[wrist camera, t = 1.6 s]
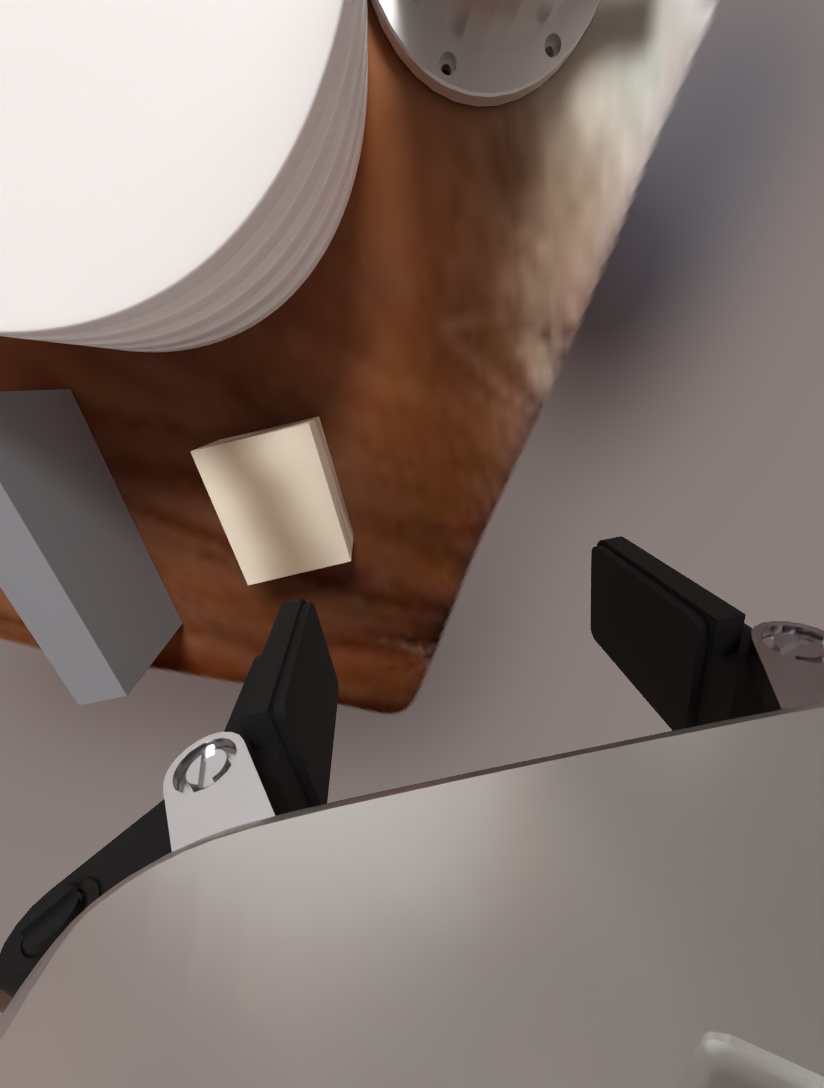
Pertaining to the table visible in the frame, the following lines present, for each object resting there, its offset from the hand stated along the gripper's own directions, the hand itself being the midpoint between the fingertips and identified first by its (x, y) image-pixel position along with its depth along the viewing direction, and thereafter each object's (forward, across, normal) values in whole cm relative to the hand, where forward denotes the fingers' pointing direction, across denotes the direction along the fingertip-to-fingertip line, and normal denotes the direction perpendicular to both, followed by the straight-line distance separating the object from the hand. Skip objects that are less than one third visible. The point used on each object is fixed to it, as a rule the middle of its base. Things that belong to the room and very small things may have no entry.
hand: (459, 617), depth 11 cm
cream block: (+20, +8, 0) cm, 22 cm away
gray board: (+20, +21, 0) cm, 29 cm away
